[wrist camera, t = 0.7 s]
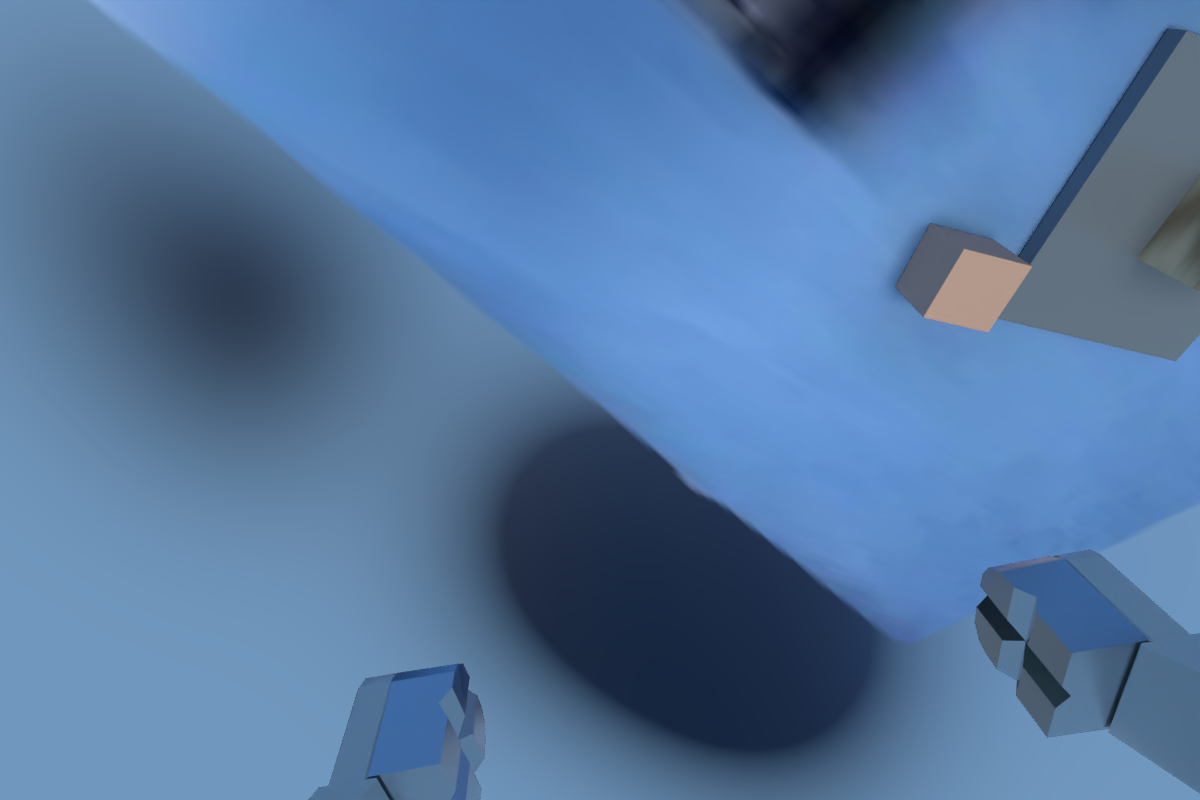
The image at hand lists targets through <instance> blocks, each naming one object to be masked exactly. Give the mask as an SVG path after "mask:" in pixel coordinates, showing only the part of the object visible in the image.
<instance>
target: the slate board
mask: <svg viewBox="0 0 1200 800" xmlns="http://www.w3.org/2000/svg"><path fill="white" fill-rule="evenodd" d="M1199 176H1200V35H1198V34H1195V33H1192V32H1189V31H1184V30H1175V29H1167V30H1166V32H1165V33H1164V35H1163V36H1162V38H1161V39H1160V41H1159V42H1158V44H1157V46H1156V47H1155V49H1154V50H1153V52H1152V53H1151V55H1150V56H1149V58H1148V59H1147V61H1146V62H1145V64H1144V65H1143V67H1142V68H1141V70H1140V72H1139V73H1138V75H1137V76H1136V78H1135V79H1134V81H1133V82H1132V84H1131V85H1130V87H1129V88H1128V90H1127V91H1126V93H1125V94H1124V96H1123V97H1122V99H1121V101H1120V102H1119V104H1118V105H1117V107H1116V108H1115V110H1114V111H1113V113H1112V114H1111V116H1110V117H1109V119H1108V120H1107V122H1106V123H1105V125H1104V126H1103V128H1102V130H1101V131H1100V133H1099V134H1098V136H1097V137H1096V139H1095V140H1094V142H1093V143H1092V145H1091V146H1090V148H1089V149H1088V151H1087V152H1086V154H1085V155H1084V157H1083V159H1082V160H1081V162H1080V163H1079V165H1078V166H1077V168H1076V169H1075V171H1074V172H1073V174H1072V175H1071V177H1070V178H1069V180H1068V181H1067V183H1066V185H1065V186H1064V188H1063V189H1062V191H1061V192H1060V194H1059V195H1058V197H1057V198H1056V200H1055V201H1054V203H1053V204H1052V206H1051V207H1050V209H1049V210H1048V212H1047V214H1046V215H1045V217H1044V218H1043V220H1042V221H1041V223H1040V224H1039V226H1038V227H1037V229H1036V230H1035V232H1034V233H1033V235H1032V236H1031V238H1030V239H1029V241H1028V243H1027V244H1026V246H1025V247H1024V249H1023V250H1022V252H1021V253H1020V255H1019V256H1018V257H1020V258H1021V259H1022V260H1024V261H1025V262H1027V263H1028V264H1030V265H1031V266H1032V268H1031V269H1030V271H1029V272H1028V274H1027V275H1026V277H1025V278H1024V280H1023V281H1022V283H1021V284H1020V286H1019V287H1018V289H1017V290H1016V292H1015V293H1014V295H1013V296H1012V298H1011V299H1010V301H1009V302H1008V304H1007V305H1006V307H1005V308H1004V309H1003V311H1002V312H1001V314H1000V315H999V317H998V318H997V319H1002V320H1006V321H1010V322H1014V323H1018V324H1022V325H1027V326H1031V327H1035V328H1039V329H1043V330H1048V331H1052V332H1056V333H1060V334H1064V335H1068V336H1073V337H1077V338H1081V339H1085V340H1089V341H1094V342H1098V343H1102V344H1106V345H1110V346H1114V347H1119V348H1123V349H1127V350H1131V351H1135V352H1139V353H1144V354H1148V355H1152V356H1156V357H1160V358H1165V359H1169V360H1173V361H1176V360H1177V359H1178V358H1179V357H1180V356H1181V355H1182V354H1183V353H1184V351H1185V350H1186V349H1187V348H1188V347H1189V346H1190V345H1191V344H1192V342H1193V341H1194V340H1195V339H1196V338H1197V337H1198V336H1199V335H1200V292H1198V291H1197V290H1195V289H1193V288H1191V287H1189V286H1187V285H1185V284H1184V283H1182V282H1180V281H1178V280H1176V279H1174V278H1172V277H1171V276H1169V275H1167V274H1165V273H1163V272H1161V271H1159V270H1158V269H1156V268H1154V267H1152V266H1150V265H1148V264H1146V263H1145V262H1143V261H1141V260H1139V259H1137V257H1138V256H1139V254H1140V253H1141V252H1142V250H1143V249H1144V248H1145V247H1146V245H1147V244H1148V243H1149V241H1150V240H1151V239H1152V237H1153V236H1154V235H1155V234H1156V232H1157V231H1158V230H1159V228H1160V227H1161V226H1162V224H1163V223H1164V222H1165V221H1166V219H1167V218H1168V217H1169V215H1170V214H1171V213H1172V211H1173V210H1174V209H1175V208H1176V206H1177V205H1178V204H1179V202H1180V201H1181V200H1182V198H1183V197H1184V196H1185V195H1186V193H1187V192H1188V191H1189V189H1190V188H1191V187H1192V185H1193V184H1194V183H1195V182H1196V180H1197V179H1198V178H1199Z"/></svg>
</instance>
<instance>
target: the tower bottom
mask: <svg viewBox="0 0 1200 800" xmlns="http://www.w3.org/2000/svg"><path fill="white" fill-rule="evenodd" d="M1137 259H1139V260H1141V261H1143V262H1145V263H1146V264H1148V265H1150V266H1152V267H1154V268H1156V269H1158V270H1159V271H1161V272H1163V273H1165V274H1167V275H1169V276H1171V277H1172V278H1174V279H1176V280H1178V281H1180V282H1182V283H1184V284H1185V285H1187V286H1189V287H1191V288H1193V287H1194V285H1195V284H1196V283H1197V282H1198V281H1199V280H1200V176H1199V178H1198V179H1197V180H1196V182H1195V183H1194V184H1193V185H1192V187H1191V188H1190V189H1189V191H1188V192H1187V193H1186V195H1185V196H1184V197H1183V198H1182V200H1181V201H1180V202H1179V204H1178V205H1177V206H1176V208H1175V209H1174V210H1173V211H1172V213H1171V214H1170V215H1169V217H1168V218H1167V219H1166V221H1165V222H1164V223H1163V224H1162V226H1161V227H1160V228H1159V230H1158V231H1157V232H1156V234H1155V235H1154V236H1153V237H1152V239H1151V240H1150V241H1149V243H1148V244H1147V245H1146V247H1145V248H1144V249H1143V250H1142V252H1141V253H1140V254H1139V256H1138V257H1137Z"/></svg>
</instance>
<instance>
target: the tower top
mask: <svg viewBox="0 0 1200 800" xmlns="http://www.w3.org/2000/svg"><path fill="white" fill-rule="evenodd" d="M1193 289H1195V290H1197V291H1198V292H1200V280H1199V281H1198V282H1197V283H1196V284H1195V285H1194V287H1193Z"/></svg>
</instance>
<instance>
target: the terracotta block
mask: <svg viewBox="0 0 1200 800" xmlns="http://www.w3.org/2000/svg"><path fill="white" fill-rule="evenodd" d="M1031 268H1032V266H1031V265H1030V264H1028V263H1027V262H1025V261H1024V260H1022V259H1021V258H1020V257H1018V256H1017V255H1015V254H1014V253H1012V252H1011V251H1009V250H1008V249H1006V248H1005V247H1003V246H1002V245H1000V244H999V243H997V242H996V241H995V240H993V239H989V238H985V237H981V236H978V235H974V234H970V233H966V232H962V231H958V230H954V229H951V228H947V227H943V226H939V225H935V224H931V223H930V225H929V227H928V228H927V230H926V232H925V234H924V236H923V237H922V239H921V241H920V243H919V245H918V246H917V248H916V250H915V252H914V254H913V255H912V257H911V259H910V261H909V263H908V264H907V266H906V268H905V270H904V272H903V273H902V275H901V277H900V279H899V281H898V282H897V284H896V286H895V288H896V289H897V290H898V291H899V292H900V293H901V294H902V295H903V296H904V297H905V298H906V299H907V300H908V301H909V302H910V304H911V305H912V306H913V307H914V308H915V309H916V310H917V311H918V312H919V313H920V314H921V315H922V316H923V317H925V318H929V319H933V320H937V321H942V322H946V323H950V324H954V325H959V326H963V327H967V328H971V329H976V330H980V331H984V332H989V330H990V329H991V327H992V326H993V324H994V323H995V321H996V320H997V318H998V317H999V315H1000V314H1001V312H1002V311H1003V309H1004V308H1005V307H1006V305H1007V304H1008V302H1009V301H1010V299H1011V298H1012V296H1013V295H1014V293H1015V292H1016V290H1017V289H1018V287H1019V286H1020V284H1021V283H1022V281H1023V280H1024V278H1025V277H1026V275H1027V274H1028V272H1029V271H1030V269H1031Z"/></svg>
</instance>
